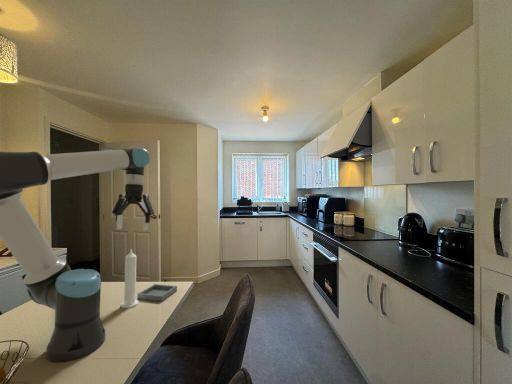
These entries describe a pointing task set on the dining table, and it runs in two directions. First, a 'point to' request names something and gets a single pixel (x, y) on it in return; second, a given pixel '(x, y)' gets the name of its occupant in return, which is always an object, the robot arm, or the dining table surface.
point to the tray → (157, 292)
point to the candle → (130, 281)
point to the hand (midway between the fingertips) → (132, 229)
